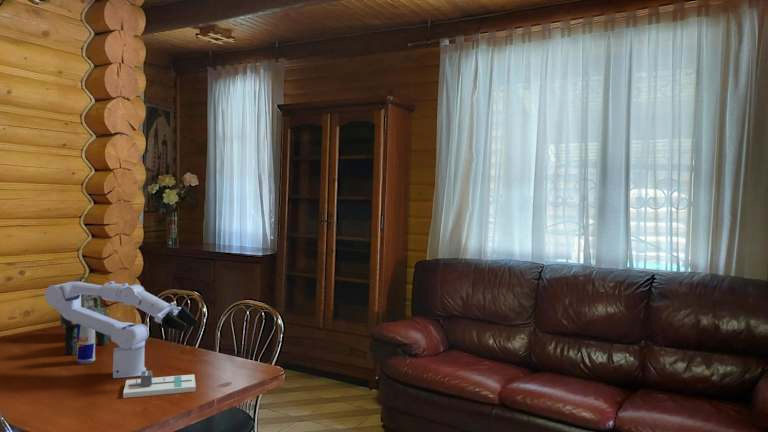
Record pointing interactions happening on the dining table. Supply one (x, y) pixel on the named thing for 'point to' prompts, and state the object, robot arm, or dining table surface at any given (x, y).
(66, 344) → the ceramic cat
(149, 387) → the slider panel
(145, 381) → the fader knob
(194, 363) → the dining table surface
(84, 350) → the beverage can
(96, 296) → the tabletop clock
